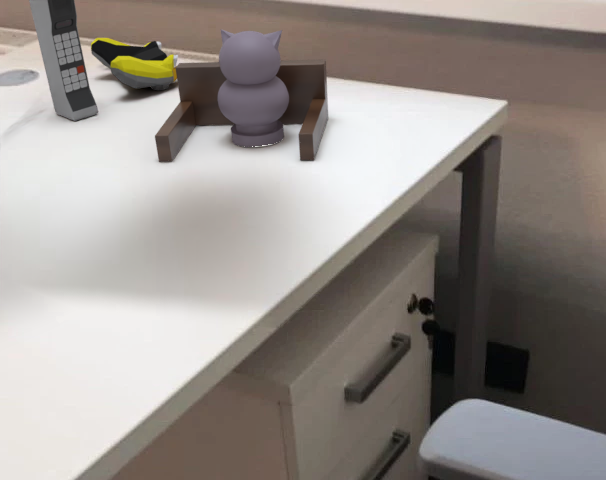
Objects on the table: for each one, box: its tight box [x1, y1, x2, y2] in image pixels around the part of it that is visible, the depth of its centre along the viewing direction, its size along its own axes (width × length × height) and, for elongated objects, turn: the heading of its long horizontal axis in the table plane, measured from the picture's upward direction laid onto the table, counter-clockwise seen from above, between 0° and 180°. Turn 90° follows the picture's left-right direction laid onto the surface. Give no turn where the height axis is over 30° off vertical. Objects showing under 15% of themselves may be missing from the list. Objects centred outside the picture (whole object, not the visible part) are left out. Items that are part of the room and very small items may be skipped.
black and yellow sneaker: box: [90, 37, 179, 91], centre depth 125 cm, size 15×6×10 cm
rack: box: [154, 58, 329, 163], centre depth 104 cm, size 14×18×7 cm
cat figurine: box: [218, 28, 289, 148], centre depth 103 cm, size 8×8×12 cm
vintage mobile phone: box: [28, 0, 99, 122], centre depth 110 cm, size 4×5×25 cm
